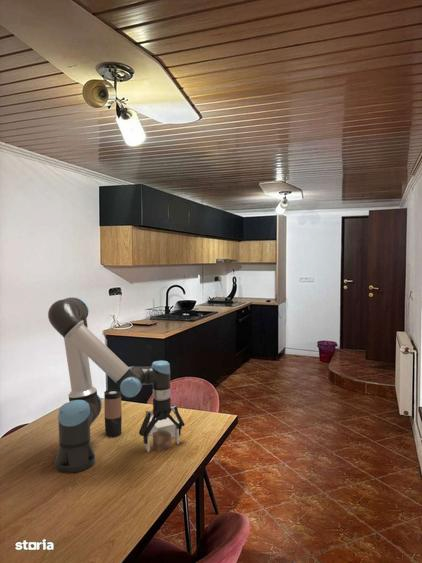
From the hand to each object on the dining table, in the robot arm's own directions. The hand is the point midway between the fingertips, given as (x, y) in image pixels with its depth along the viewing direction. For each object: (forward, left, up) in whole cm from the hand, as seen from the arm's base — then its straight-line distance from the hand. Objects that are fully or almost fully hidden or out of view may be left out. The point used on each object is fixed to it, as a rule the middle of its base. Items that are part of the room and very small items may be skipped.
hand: (162, 446), depth 172 cm
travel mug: (-14, +24, 0) cm, 28 cm away
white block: (+6, +13, 0) cm, 14 cm away
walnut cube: (0, 0, 0) cm, 0 cm away
